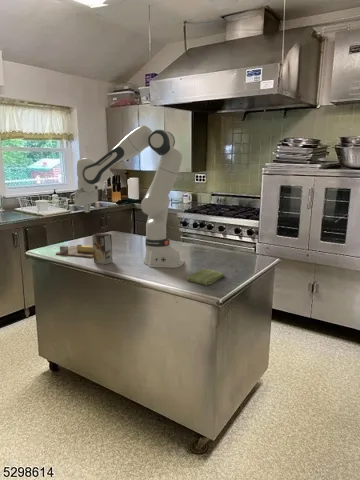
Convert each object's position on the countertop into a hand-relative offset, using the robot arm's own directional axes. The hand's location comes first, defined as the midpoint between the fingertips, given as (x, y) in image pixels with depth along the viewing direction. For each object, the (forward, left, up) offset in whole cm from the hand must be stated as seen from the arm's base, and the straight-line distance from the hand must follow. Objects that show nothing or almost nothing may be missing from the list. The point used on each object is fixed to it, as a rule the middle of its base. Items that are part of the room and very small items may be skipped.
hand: (87, 212), depth 203 cm
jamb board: (+11, -8, -27) cm, 30 cm away
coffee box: (-11, +6, -27) cm, 30 cm away
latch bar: (+5, -7, -26) cm, 27 cm away
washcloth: (-72, +16, -28) cm, 79 cm away
